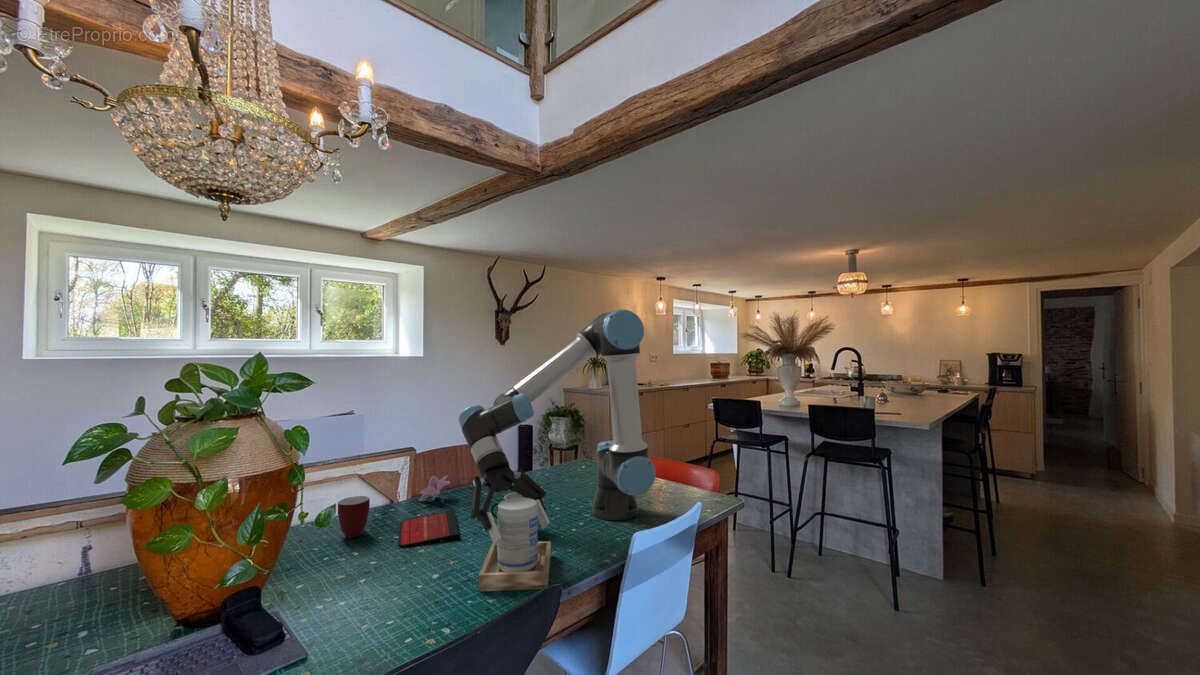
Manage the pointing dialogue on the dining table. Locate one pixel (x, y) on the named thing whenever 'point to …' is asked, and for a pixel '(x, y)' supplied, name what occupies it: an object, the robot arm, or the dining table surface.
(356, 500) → the mug
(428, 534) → the red book
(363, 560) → the dining table surface
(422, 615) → the dining table surface
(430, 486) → the lily
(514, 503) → the supplement tub
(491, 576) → the slatted wooden tray
